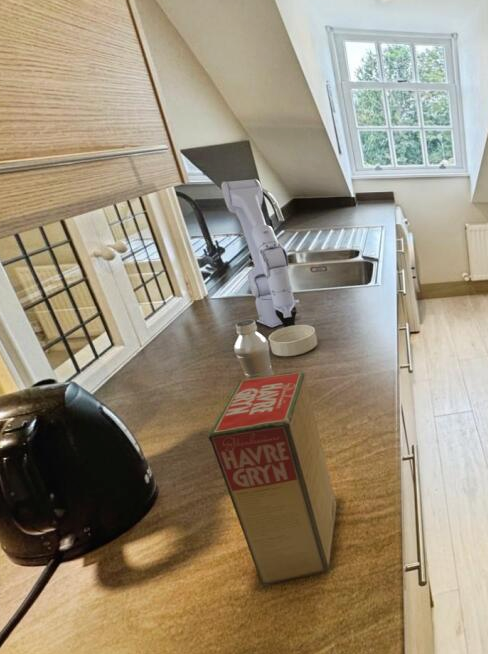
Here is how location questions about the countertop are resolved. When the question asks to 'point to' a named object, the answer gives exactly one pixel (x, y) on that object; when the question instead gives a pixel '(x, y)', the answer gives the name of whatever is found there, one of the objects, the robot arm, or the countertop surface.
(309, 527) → the food packaging
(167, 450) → the countertop surface
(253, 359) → the plastic bottle
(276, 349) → the bowl
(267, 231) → the robot arm
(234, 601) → the countertop surface
